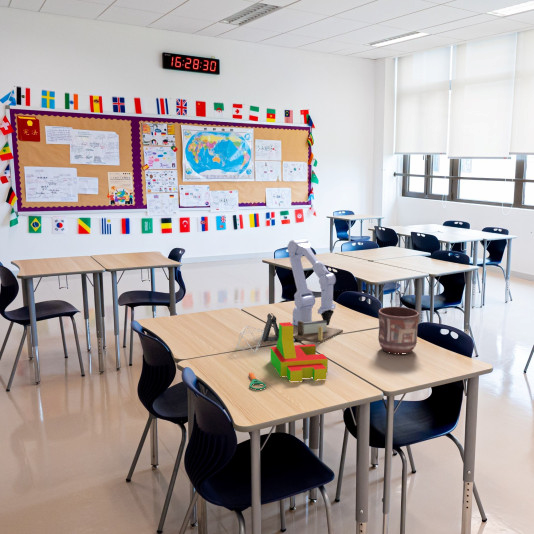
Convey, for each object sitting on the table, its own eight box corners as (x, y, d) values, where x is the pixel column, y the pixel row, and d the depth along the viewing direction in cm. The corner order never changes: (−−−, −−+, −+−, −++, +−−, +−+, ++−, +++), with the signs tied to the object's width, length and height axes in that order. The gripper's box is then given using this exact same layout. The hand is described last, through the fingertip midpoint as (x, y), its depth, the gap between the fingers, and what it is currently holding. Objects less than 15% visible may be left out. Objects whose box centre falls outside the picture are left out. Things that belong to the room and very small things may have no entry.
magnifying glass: (267, 390, 208) (267, 386, 208) (251, 392, 207) (251, 387, 207) (258, 376, 223) (258, 372, 223) (243, 377, 222) (243, 373, 221)
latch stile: (318, 340, 264) (318, 326, 263) (319, 339, 265) (319, 326, 264) (321, 340, 263) (321, 327, 262) (322, 340, 264) (322, 326, 263)
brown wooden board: (293, 337, 271) (293, 322, 270) (316, 327, 289) (316, 312, 288) (320, 343, 263) (321, 327, 261) (342, 331, 281) (343, 317, 279)
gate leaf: (304, 334, 272) (304, 323, 271) (302, 333, 274) (302, 322, 273) (326, 331, 276) (326, 320, 275) (324, 330, 278) (325, 320, 277)
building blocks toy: (284, 384, 215) (284, 337, 211) (270, 361, 239) (270, 319, 236) (332, 380, 218) (333, 334, 215) (313, 358, 242) (314, 317, 239)
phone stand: (279, 336, 273) (279, 312, 270) (282, 340, 267) (282, 315, 265) (261, 338, 271) (261, 313, 269) (263, 341, 265) (263, 316, 263)
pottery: (368, 350, 253) (370, 311, 249) (390, 341, 265) (392, 304, 261) (403, 360, 240) (405, 319, 237) (424, 350, 253) (427, 311, 249)
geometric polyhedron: (266, 352, 251) (266, 332, 249) (242, 354, 247) (242, 334, 246) (257, 343, 262) (257, 324, 261) (234, 346, 259) (234, 326, 258)
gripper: (327, 302, 270) (326, 329, 272) (341, 296, 282) (340, 322, 284) (314, 300, 274) (313, 327, 276) (328, 294, 286) (328, 320, 288)
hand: (326, 324), depth 281 cm, fingers closed
